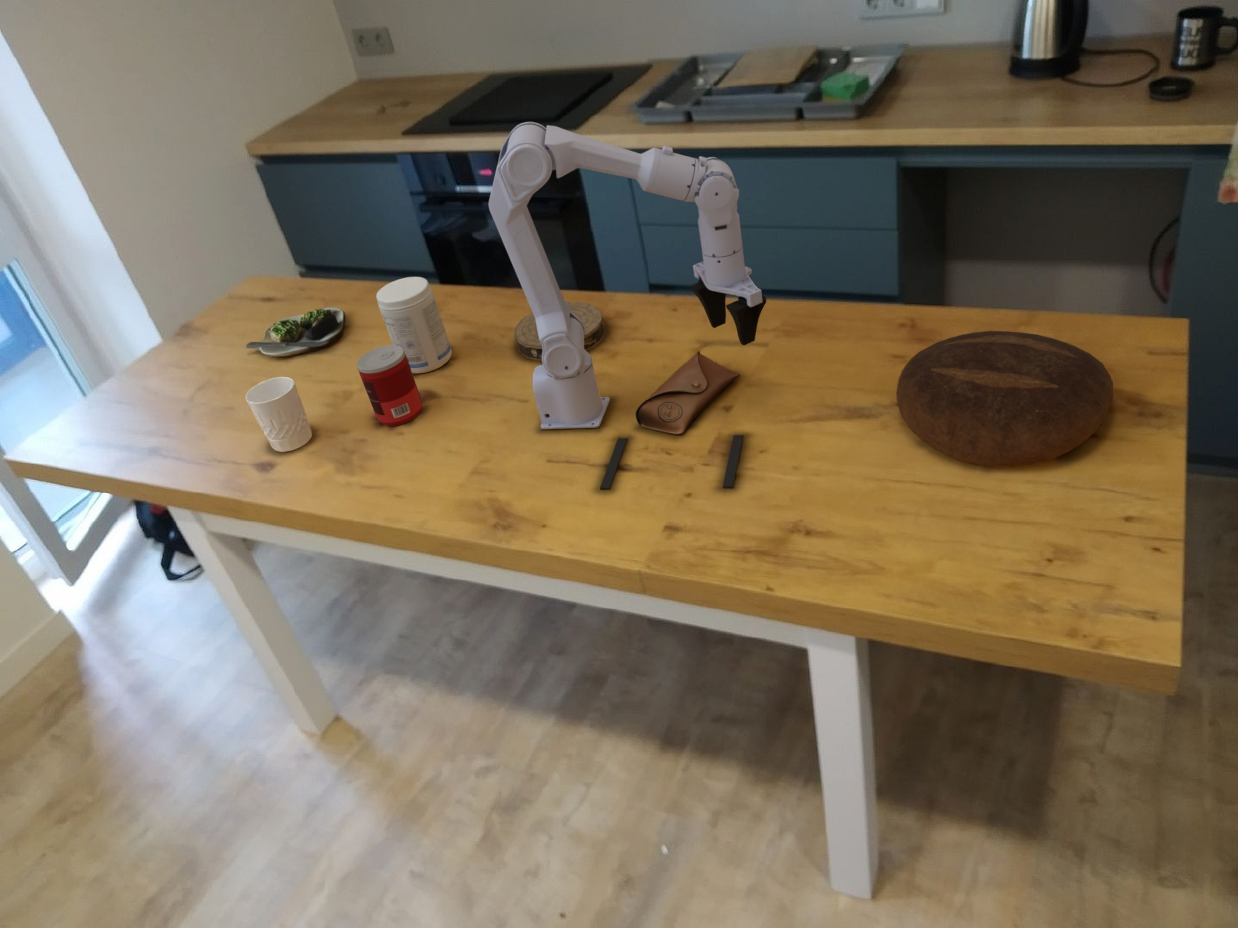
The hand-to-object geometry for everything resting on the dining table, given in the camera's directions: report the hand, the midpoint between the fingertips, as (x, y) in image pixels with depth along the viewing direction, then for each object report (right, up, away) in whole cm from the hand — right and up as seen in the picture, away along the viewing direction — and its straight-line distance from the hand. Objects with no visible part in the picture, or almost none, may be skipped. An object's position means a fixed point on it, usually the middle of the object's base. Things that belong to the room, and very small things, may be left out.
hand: (733, 333), depth 146 cm
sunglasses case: (-6, -10, +5) cm, 13 cm away
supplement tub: (-51, -1, +32) cm, 60 cm away
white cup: (-71, -16, +17) cm, 75 cm away
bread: (+35, -12, -11) cm, 39 cm away
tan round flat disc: (-27, +3, +30) cm, 40 cm away
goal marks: (-9, -19, -7) cm, 22 cm away
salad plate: (-79, +6, +49) cm, 93 cm away
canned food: (-53, -11, +18) cm, 57 cm away
